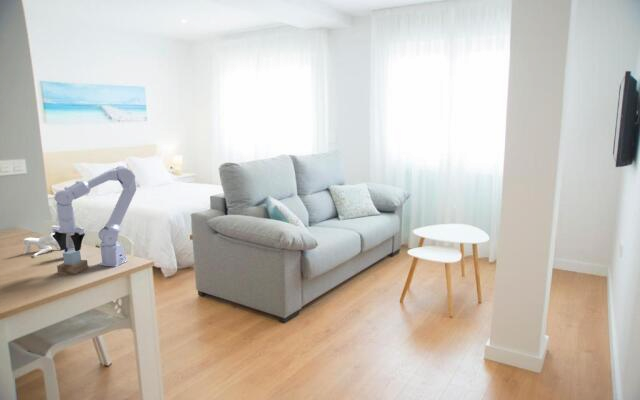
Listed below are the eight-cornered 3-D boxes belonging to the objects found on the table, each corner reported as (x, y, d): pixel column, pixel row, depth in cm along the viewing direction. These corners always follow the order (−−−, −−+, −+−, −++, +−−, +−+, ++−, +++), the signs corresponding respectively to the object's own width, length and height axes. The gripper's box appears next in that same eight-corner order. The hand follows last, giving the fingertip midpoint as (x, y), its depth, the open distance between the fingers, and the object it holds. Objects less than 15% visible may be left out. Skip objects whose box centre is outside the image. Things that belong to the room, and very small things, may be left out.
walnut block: (88, 268, 186) (87, 260, 186) (75, 275, 179) (74, 266, 178) (71, 268, 187) (70, 259, 187) (58, 275, 180) (56, 266, 179)
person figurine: (24, 236, 200) (62, 222, 213) (14, 238, 207) (52, 224, 221) (36, 261, 202) (73, 245, 216) (26, 262, 210) (62, 247, 224)
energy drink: (68, 255, 205) (65, 231, 203) (80, 254, 205) (77, 230, 203) (63, 258, 200) (59, 234, 198) (75, 258, 200) (71, 233, 198)
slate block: (81, 261, 184) (79, 250, 183) (72, 265, 179) (71, 253, 178) (73, 260, 185) (71, 249, 184) (64, 264, 181) (62, 253, 180)
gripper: (44, 220, 177) (49, 251, 179) (72, 221, 173) (77, 253, 176) (58, 216, 184) (63, 246, 186) (86, 217, 180) (90, 248, 182)
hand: (70, 249), depth 181 cm, fingers open, 7 cm apart
